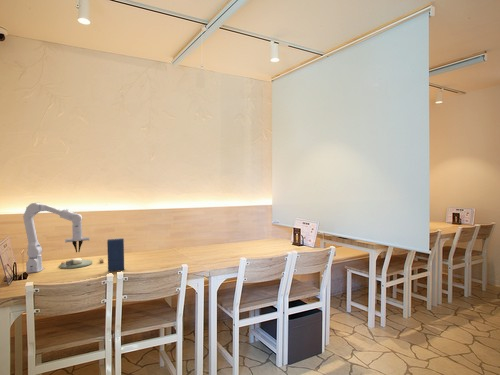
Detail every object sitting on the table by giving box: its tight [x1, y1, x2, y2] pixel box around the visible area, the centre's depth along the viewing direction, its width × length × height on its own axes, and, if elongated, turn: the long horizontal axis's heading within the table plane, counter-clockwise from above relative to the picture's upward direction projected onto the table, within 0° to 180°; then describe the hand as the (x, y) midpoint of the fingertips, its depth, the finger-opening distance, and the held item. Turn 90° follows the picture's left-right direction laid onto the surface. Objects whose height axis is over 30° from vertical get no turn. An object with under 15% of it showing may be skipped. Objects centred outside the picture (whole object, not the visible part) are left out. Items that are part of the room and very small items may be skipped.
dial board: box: [58, 259, 93, 270], centre depth 220 cm, size 20×20×2 cm
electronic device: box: [106, 237, 125, 273], centre depth 204 cm, size 10×5×20 cm, turn 109°
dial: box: [65, 257, 83, 265], centre depth 218 cm, size 11×7×3 cm, turn 162°
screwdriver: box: [99, 257, 104, 264], centre depth 228 cm, size 12×2×2 cm, turn 27°
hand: (77, 252), depth 215 cm, fingers closed
